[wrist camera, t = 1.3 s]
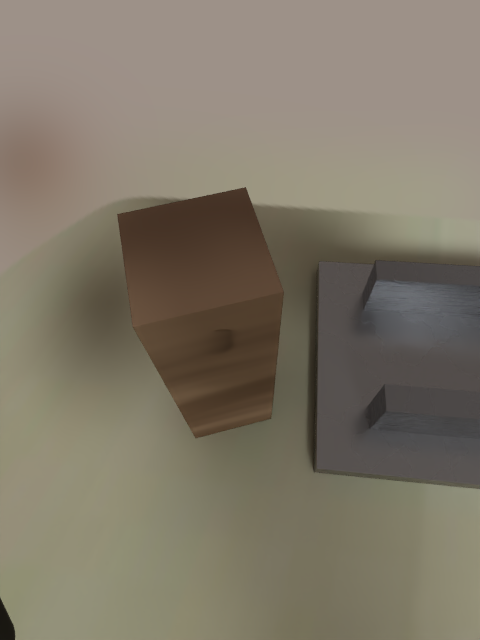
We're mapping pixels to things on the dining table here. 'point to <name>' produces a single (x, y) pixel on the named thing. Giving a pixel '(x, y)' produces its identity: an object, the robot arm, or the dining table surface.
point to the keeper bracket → (398, 372)
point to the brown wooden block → (206, 306)
